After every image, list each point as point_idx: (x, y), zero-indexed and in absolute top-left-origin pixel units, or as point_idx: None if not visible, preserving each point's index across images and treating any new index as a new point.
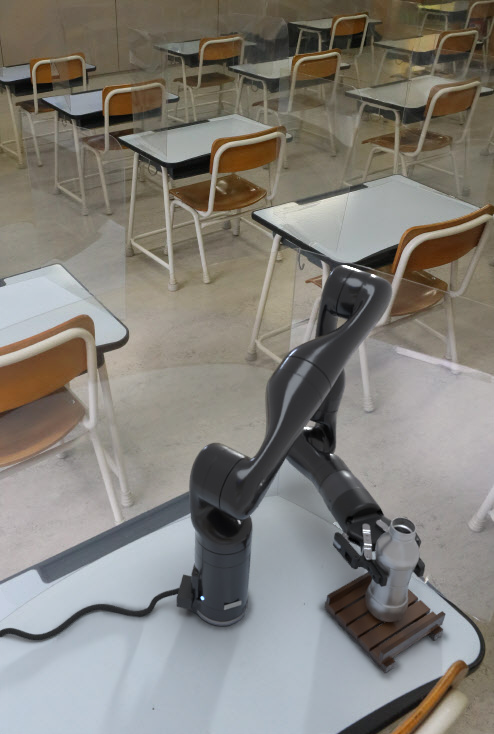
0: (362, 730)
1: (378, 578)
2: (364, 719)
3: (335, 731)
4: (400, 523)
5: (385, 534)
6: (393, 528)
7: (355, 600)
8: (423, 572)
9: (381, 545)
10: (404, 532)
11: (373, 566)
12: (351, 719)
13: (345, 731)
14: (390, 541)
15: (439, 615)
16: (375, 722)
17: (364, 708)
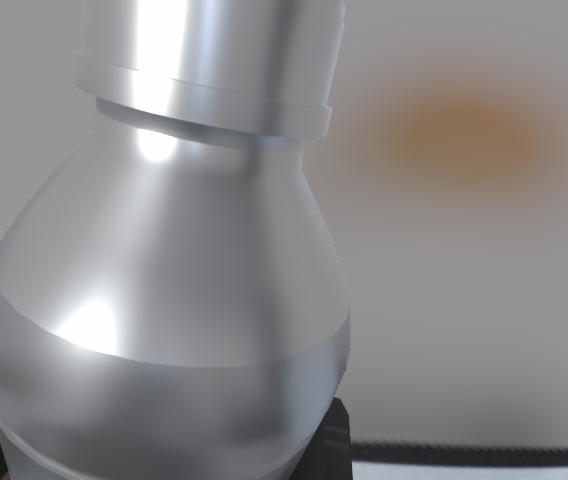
0: (401, 445)
1: (338, 403)
2: (388, 458)
3: (460, 471)
4: (126, 58)
5: (270, 245)
6: (344, 7)
7: None
8: None
9: (342, 282)
10: (45, 207)
11: (325, 469)
12: (417, 472)
13: (438, 461)
14: (307, 186)
15: (5, 476)
16: (367, 443)
17: (378, 475)
